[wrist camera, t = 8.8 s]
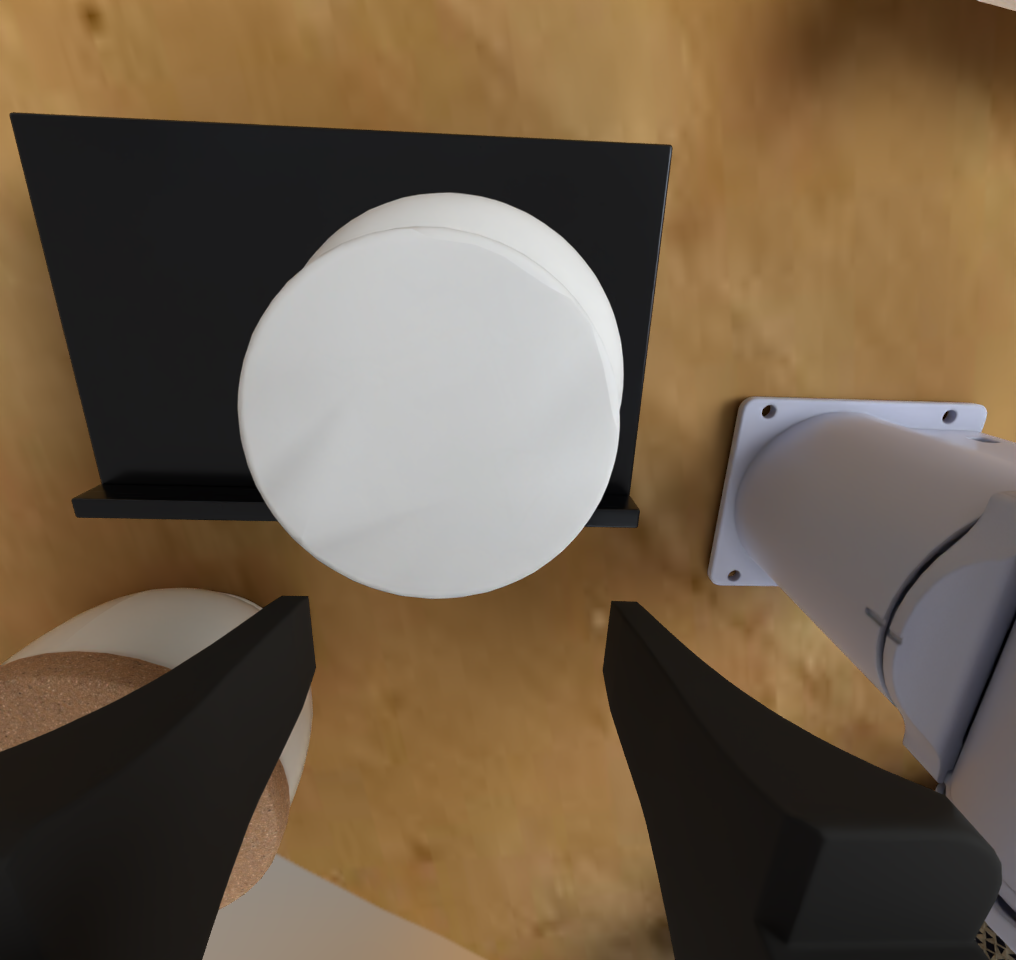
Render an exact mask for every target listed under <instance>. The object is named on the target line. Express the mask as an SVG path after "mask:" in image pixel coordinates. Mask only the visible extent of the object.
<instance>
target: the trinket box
mask: <svg viewBox="0 0 1016 960" xmlns="http://www.w3.org/2000/svg"><path fill="white" fill-rule="evenodd" d="M261 609H263V608H261V607H260V606H258V605H257V604H255V603H253V602H251V601H249V600H247V599H245V598H242V597H239V596H236V595H232V594H227V593H222V592H215V591H210V590H205V589H198V588H167V589H153V590H148V591H143V592H139V593H134V594H131V595H127V596H123V597H119V598H116V599H114V600H111V601H108V602H106V603H103V604H101V605H98V606H96V607H94V608H92V609H89V610H87V611H85V612H83V613H81V614H78V615H76V616H75V617H73V618H71V619H69V620H68V621H66V622H64V623H63V624H61V625H59V626H58V627H56V628H54V629H52V630H51V631H49V632H47V633H46V634H44V635H42V636H41V637H39V638H37V639H36V640H34V641H33V642H31V643H30V644H28V645H27V646H26V647H24V648H23V649H21V650H20V651H19V652H17V653H16V654H14V655H13V656H11V657H10V658H9V659H7V660H6V661H5V662H3V663H2V664H1V665H0V752H1V751H4V750H6V749H9V748H11V747H14V746H17V745H19V744H21V743H24V742H26V741H29V740H31V739H34V738H36V737H38V736H41V735H43V734H46V733H48V732H50V731H53V730H55V729H57V728H59V727H61V726H63V725H66V724H68V723H70V722H72V721H74V720H76V719H78V718H81V717H83V716H85V715H87V714H89V713H91V712H93V711H96V710H98V709H100V708H102V707H104V706H106V705H108V704H110V703H112V702H114V701H116V700H118V699H120V698H122V697H124V696H126V695H128V694H129V693H131V692H133V691H135V690H137V689H139V688H141V687H142V686H144V685H146V684H148V683H150V682H151V681H153V680H155V679H157V678H158V677H160V676H162V675H163V674H165V673H167V672H169V671H170V670H172V669H173V668H175V667H177V666H178V665H180V664H181V663H183V662H184V661H186V660H188V659H189V658H191V657H192V656H194V655H195V654H197V653H199V652H200V651H202V650H203V649H205V648H206V647H208V646H210V645H211V644H213V643H214V642H215V641H217V640H218V639H220V638H221V637H223V636H224V635H226V634H227V633H228V632H230V631H231V630H233V629H234V628H236V627H237V626H239V625H240V624H241V623H243V622H244V621H246V620H247V619H249V618H250V617H251V616H253V615H254V614H256V613H257V612H258V611H260V610H261ZM312 718H313V706H312V692H311V685H310V688H309V691H308V694H307V697H306V700H305V703H304V706H303V709H302V711H301V713H300V715H299V717H298V720H297V722H296V724H295V726H294V728H293V730H292V732H291V735H290V737H289V739H288V741H287V743H286V745H285V747H284V749H283V751H282V754H281V756H280V758H279V760H278V762H277V764H276V766H275V768H274V770H273V772H272V774H271V777H270V779H269V781H268V783H267V785H266V787H265V789H264V791H263V793H262V795H261V798H260V800H259V802H258V804H257V807H256V809H255V811H254V813H253V816H252V818H251V820H250V823H249V825H248V828H247V831H246V834H245V836H244V839H243V842H242V845H241V847H240V850H239V853H238V856H237V858H236V861H235V864H234V867H233V869H232V872H231V875H230V878H229V881H228V884H227V887H226V889H225V892H224V895H223V898H222V901H221V904H220V907H219V909H221V908H223V907H225V906H227V905H229V904H230V903H232V902H233V901H235V900H236V899H238V898H239V897H241V896H242V895H244V894H245V893H246V892H247V891H248V890H250V889H251V888H252V887H253V886H254V885H255V884H256V883H257V882H258V881H259V880H260V879H261V878H262V877H263V875H264V874H265V872H266V871H267V869H268V868H269V867H270V865H271V864H272V862H273V859H274V857H275V854H276V852H277V849H278V847H279V845H280V842H281V840H282V837H283V834H284V831H285V829H286V825H287V821H288V815H289V809H290V806H291V803H292V801H293V798H294V795H295V793H296V790H297V787H298V784H299V781H300V778H301V775H302V772H303V769H304V764H305V760H306V756H307V751H308V747H309V741H310V735H311V727H312Z"/></svg>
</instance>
